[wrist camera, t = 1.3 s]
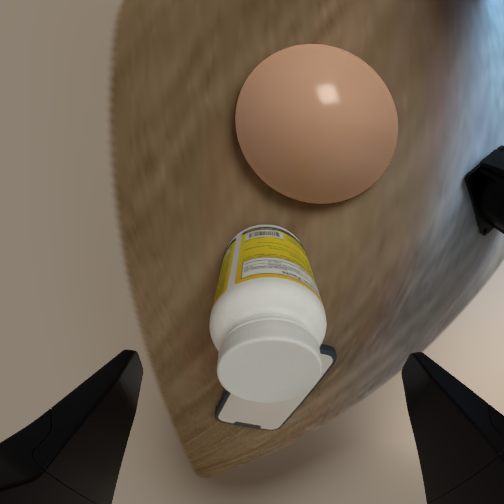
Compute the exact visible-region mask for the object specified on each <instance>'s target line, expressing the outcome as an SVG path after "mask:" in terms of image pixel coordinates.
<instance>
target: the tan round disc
mask: <svg viewBox="0 0 504 504" xmlns="http://www.w3.org/2000/svg"><path fill="white" fill-rule="evenodd" d="M235 124H236V133H237V137H238V142H239V145H240V147H241V150H242V152H243V154H244V156H245V158H246V160H247V162H248V163H249V165H250V166H251V168H252V169H253V171H254V172H255V173H256V174H257V175H258V176H259V177H260V178H261V179H262V180H263V181H264V182H265V183H266V184H267V185H269V186H270V187H271V188H273V189H274V190H276V191H277V192H279V193H281V194H283V195H285V196H287V197H290V198H292V199H295V200H298V201H302V202H307V203H316V204H329V203H335V202H340V201H344V200H347V199H350V198H352V197H355V196H357V195H359V194H360V193H362V192H364V191H365V190H367V189H368V188H369V187H371V186H372V185H373V184H374V183H375V182H376V181H377V180H378V179H379V178H380V177H381V176H382V174H383V173H384V172H385V170H386V169H387V167H388V165H389V164H390V162H391V160H392V157H393V154H394V152H395V148H396V144H397V138H398V118H397V112H396V108H395V104H394V101H393V99H392V96H391V94H390V92H389V90H388V88H387V87H386V85H385V83H384V82H383V80H382V79H381V78H380V76H379V75H378V74H377V73H376V72H375V71H374V70H373V69H372V68H371V67H370V66H369V65H368V64H366V63H365V62H364V61H363V60H361V59H360V58H358V57H356V56H355V55H353V54H351V53H349V52H347V51H345V50H342V49H339V48H336V47H333V46H327V45H322V44H304V45H297V46H292V47H289V48H286V49H283V50H280V51H278V52H276V53H274V54H273V55H271V56H269V57H268V58H266V59H265V60H264V61H262V62H261V63H260V64H259V65H258V66H257V67H256V68H255V69H254V70H253V71H252V73H251V74H250V75H249V77H248V78H247V79H246V81H245V83H244V85H243V87H242V89H241V92H240V94H239V97H238V101H237V106H236V115H235Z"/></svg>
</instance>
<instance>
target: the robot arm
mask: <svg viewBox="0 0 504 504" xmlns="http://www.w3.org/2000/svg"><path fill="white" fill-rule="evenodd" d="M503 150H504V146H500V147H499V148H498V149H496V150H494V151H493V152H492V153H490V154H489V155H488V156H487V157H486V158H484V159H483V160H482V161H481V162H480V164H479V165H477V166H476V167H475V168H474V169H473V170H471V171H470V172H469V173H468V174H467V175H466V177H465V181H466V185H467V188H468V191H469V194H470V197H471V201H472V204H473V208H474V211H475V215H476V219H477V223H478V227H479V232H480V233H481V234H482V235H483V236H485V235H486V234H487V233H489V232H490V231H491V230H492V229H493V228H496V229H497V230H499V231H500V232H502V233H503V234H504V152H503ZM470 178H471V181H470ZM142 376H143V367H142V364H141V361H140V359H139V355H138V353H137V352H136V351H133V350H123V351H122V352H121V353H120V354H118V355H117V356H116V357H115V358H113V359H112V360H111V361H109V362H108V363H107V364H106V365H104V366H103V367H102V368H101V369H99V370H98V371H97V372H96V373H95V374H93V375H92V376H91V377H90V378H88V379H87V380H86V381H84V382H83V383H82V384H81V385H79V386H78V387H77V388H76V389H74V390H73V391H72V392H71V393H69V394H68V395H67V396H66V397H64V398H63V399H62V400H61V401H59V402H58V403H57V404H56V405H54V406H53V407H52V409H49V410H48V411H47V412H45V413H44V414H43V415H42V416H40V417H39V418H38V419H36V420H35V421H34V422H32V423H31V424H29V425H28V426H26V427H25V428H24V429H22V430H20V431H19V432H17V433H15V434H14V435H12V436H11V437H9V438H7V439H6V440H4V441H2V442H1V443H0V504H112V500H113V495H114V491H115V487H116V483H117V479H118V474H119V470H120V467H121V462H122V459H123V456H124V452H125V448H126V445H127V441H128V437H129V434H130V430H131V427H132V423H133V420H134V417H135V413H136V408H137V402H138V397H139V392H140V386H141V381H142ZM402 379H403V384H404V390H405V396H406V402H407V408H408V413H409V417H410V421H411V425H412V429H413V433H414V437H415V441H416V446H417V450H418V455H419V459H420V465H421V470H422V475H423V481H424V486H425V493H426V500H427V504H504V416H503V415H502V414H501V413H499V412H498V411H497V410H495V409H494V408H493V407H492V406H490V405H488V403H486V402H485V401H484V400H483V399H482V398H480V397H479V396H478V395H476V394H475V393H474V392H473V391H471V390H470V389H469V388H468V387H466V386H465V385H464V384H462V383H461V382H460V381H459V380H457V379H456V378H455V377H454V376H452V375H451V374H449V373H448V372H447V371H445V370H444V369H443V368H442V367H441V366H439V365H438V364H437V363H435V362H434V361H433V360H431V359H430V358H429V357H427V356H426V355H425V354H424V353H422V352H416V353H411V354H410V355H409V357H408V359H407V361H406V363H405V365H404V367H403V369H402Z"/></svg>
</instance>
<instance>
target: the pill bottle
mask: <svg viewBox="0 0 504 504" xmlns="http://www.w3.org/2000/svg"><path fill="white" fill-rule="evenodd" d="M209 327H210V335H211V338H212V341H213V343H214V345H215V347H216V349H217V350H218V352H219V353H218V363H217V375H218V379H219V381H220V383H221V384H222V386H223V387H224V388H225V389H226V390H227V391H229V392H230V393H231V394H233V395H234V396H236V397H238V398H241V399H243V400H247V401H250V402H256V403H277V402H283V401H287V400H290V399H293V398H296V397H298V396H300V395H302V394H304V393H306V392H307V391H308V390H310V389H311V388H312V387H313V386H314V385H315V384H316V383H317V382H318V380H319V378H320V376H321V373H322V360H321V354H320V348H319V347H320V345H321V343H322V342H323V339H324V336H325V332H326V315H325V310H324V307H323V304H322V301H321V298H320V295H319V291H318V288H317V285H316V282H315V279H314V276H313V273H312V270H311V267H310V264H309V261H308V258H307V256H306V253H305V250H304V248H303V246H302V244H301V243H300V241H299V240H298V239H297V238H296V237H295V236H294V235H293V234H292V233H291V232H289V231H288V230H286V229H284V228H282V227H279V226H275V225H256V226H252V227H249V228H247V229H245V230H243V231H241V232H240V233H239V234H237V235H236V236H235V237H234V238H233V239H232V240H231V242H230V243H229V245H228V247H227V249H226V251H225V254H224V258H223V262H222V266H221V271H220V275H219V280H218V284H217V288H216V292H215V297H214V301H213V305H212V310H211V315H210V324H209Z"/></svg>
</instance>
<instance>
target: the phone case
mask: <svg viewBox="0 0 504 504" xmlns="http://www.w3.org/2000/svg"><path fill="white" fill-rule="evenodd" d="M319 348H320V354H321V360H322V373H321V376H320V378H319V380H318V382H317V383H316V384H315V385H314V386H313V387H312V388H311V389H310V390H308V391H307V392H306V393H304V394H302V395H300V396H298V397H296V398H293V399H290V400H287V401H283V402H277V403H256V402H250V401H247V400H243V399H241V398H238V397H236V396H234V395H233V394H231V393H230V392H229V391H227V390H226V389H225V391H224V393H223V396H222V398H221V400H220V402H219V404H218V406H217V408H216V411H215V417H216V419H217V420H219V421H221V422H225V423H230V424H235V425H240V426H245V427H251V428H257V429H264V430H277V429H279V428H280V427H281V426H282V425H283V424H284V423H285V422H286V421H287V420H288V419H289V418H290V417H291V415H292V414H293V413H294V412H295V411H296V410H297V409H298V407H299V406H300V405H301V404H302V403H303V402H304V400H305V399H306V398H307V397H308V396H309V394H310V393H311V392H312V391H313V390H314V388H315V387H316V386H317V385H318V383H319V382H320V381H321V380H322V378H323V377H324V376H325V374H326V373H327V372H328V371H329V369H330V368H331V367H332V365H333V364H334V363H335V361H336V358H337V356H336V352H335V350H334V348H333V347H331V346H327V345H323V344H321V345H320V347H319Z"/></svg>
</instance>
